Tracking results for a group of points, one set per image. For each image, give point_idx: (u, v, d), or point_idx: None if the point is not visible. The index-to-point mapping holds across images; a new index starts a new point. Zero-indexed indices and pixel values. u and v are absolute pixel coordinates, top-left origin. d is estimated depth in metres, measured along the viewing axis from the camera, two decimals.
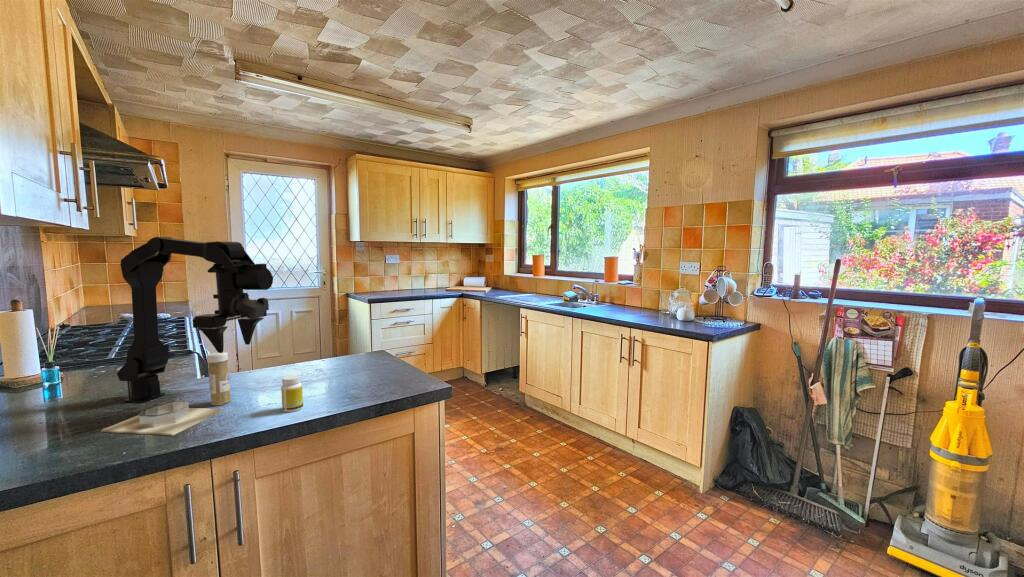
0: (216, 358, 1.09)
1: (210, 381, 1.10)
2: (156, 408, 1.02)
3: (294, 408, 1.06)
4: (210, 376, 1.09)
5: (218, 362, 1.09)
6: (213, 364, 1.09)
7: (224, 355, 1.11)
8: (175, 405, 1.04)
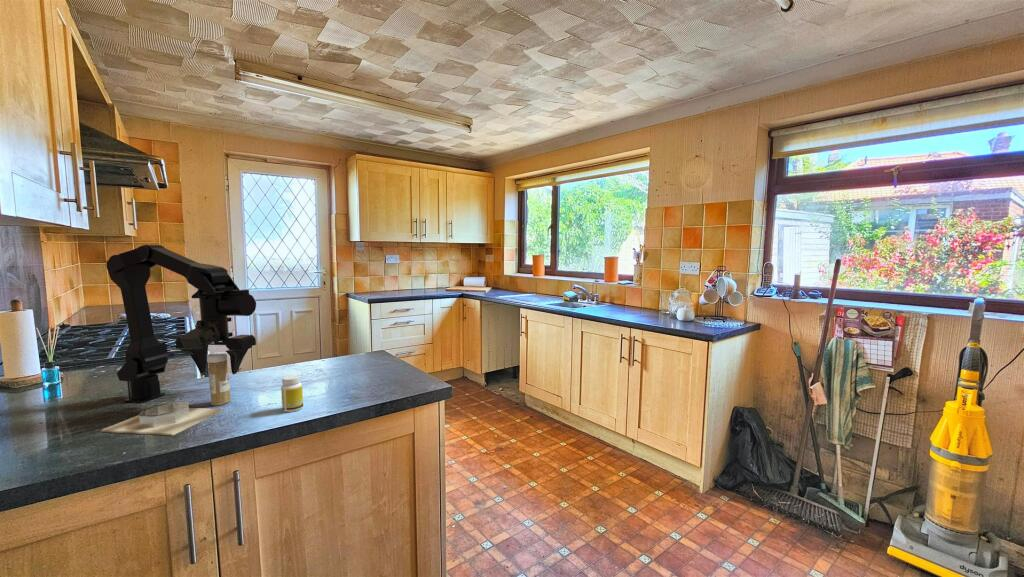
0: (216, 358, 1.09)
1: (210, 381, 1.10)
2: (156, 408, 1.02)
3: (294, 408, 1.06)
4: (210, 376, 1.09)
5: (218, 362, 1.09)
6: (213, 364, 1.09)
7: (224, 355, 1.11)
8: (175, 405, 1.04)
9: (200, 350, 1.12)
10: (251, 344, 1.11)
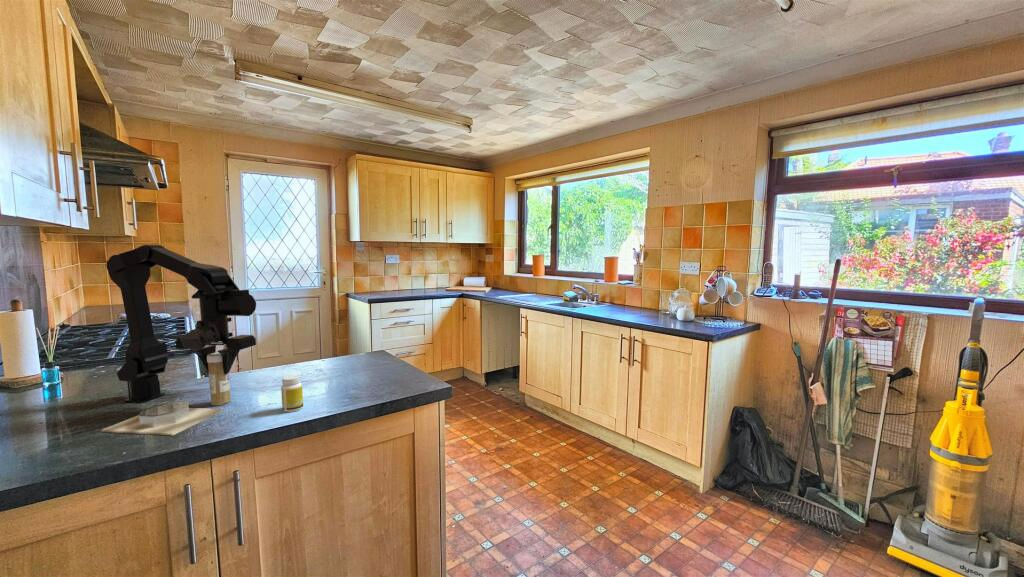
0: (216, 358, 1.09)
1: (210, 381, 1.10)
2: (156, 408, 1.02)
3: (294, 408, 1.06)
4: (210, 376, 1.09)
5: (218, 362, 1.09)
6: (213, 364, 1.09)
7: None
8: (175, 405, 1.04)
9: (208, 350, 1.11)
10: (251, 344, 1.11)
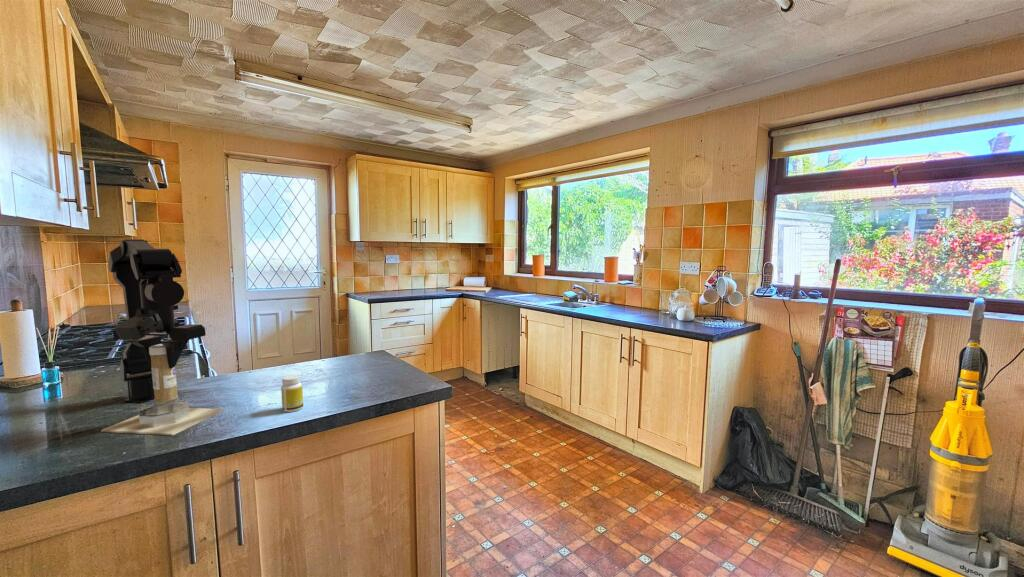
0: (159, 350, 0.98)
1: (153, 376, 0.98)
2: (156, 408, 1.02)
3: (294, 408, 1.06)
4: (153, 370, 0.98)
5: (162, 354, 0.98)
6: (155, 356, 0.98)
7: None
8: (175, 405, 1.04)
9: (151, 342, 1.00)
10: (199, 335, 0.99)
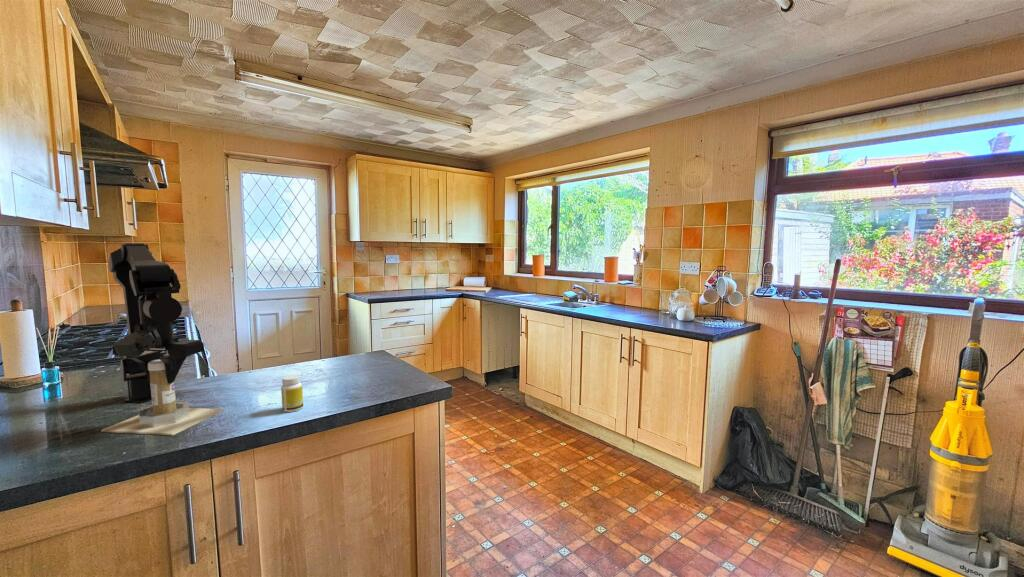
0: (158, 366, 0.98)
1: (151, 391, 0.98)
2: None
3: (294, 408, 1.06)
4: (151, 386, 0.98)
5: (160, 370, 0.98)
6: (154, 372, 0.98)
7: None
8: None
9: (150, 357, 1.00)
10: (198, 350, 0.99)
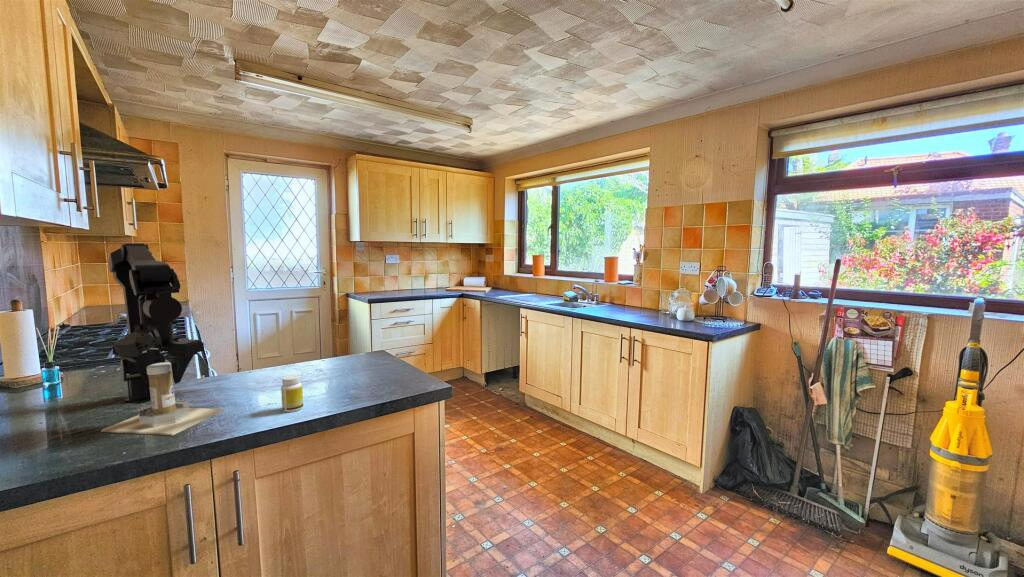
0: (157, 370, 0.98)
1: (151, 395, 0.98)
2: None
3: (294, 408, 1.06)
4: (151, 390, 0.98)
5: (159, 374, 0.98)
6: (153, 376, 0.97)
7: (167, 366, 0.99)
8: (175, 405, 1.04)
9: (144, 357, 1.00)
10: (198, 350, 0.99)
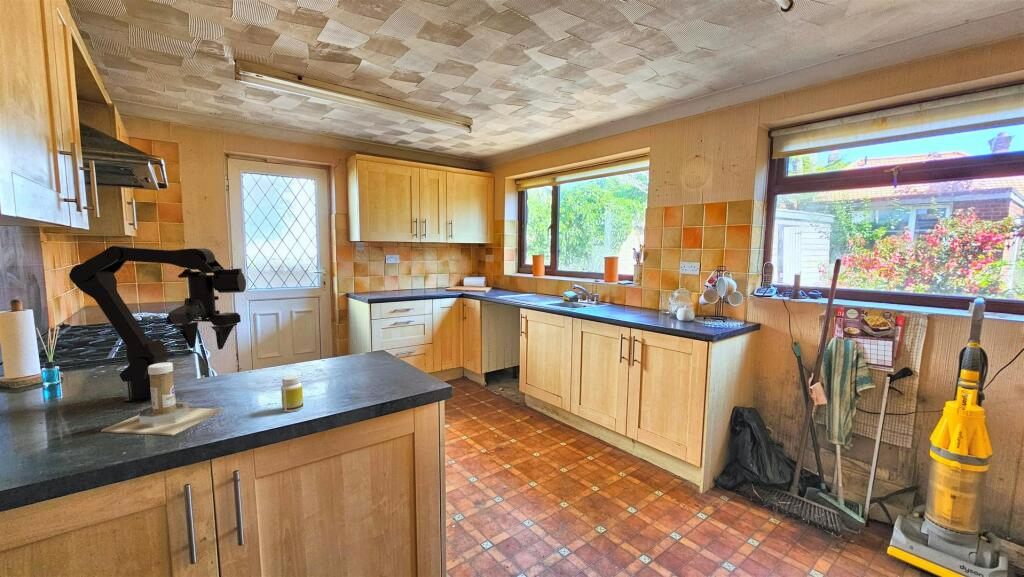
0: (158, 370, 0.98)
1: (152, 395, 0.98)
2: None
3: (294, 408, 1.06)
4: (152, 390, 0.98)
5: (160, 374, 0.98)
6: (154, 376, 0.98)
7: (168, 366, 0.99)
8: None
9: (190, 326, 1.19)
10: (235, 321, 1.17)
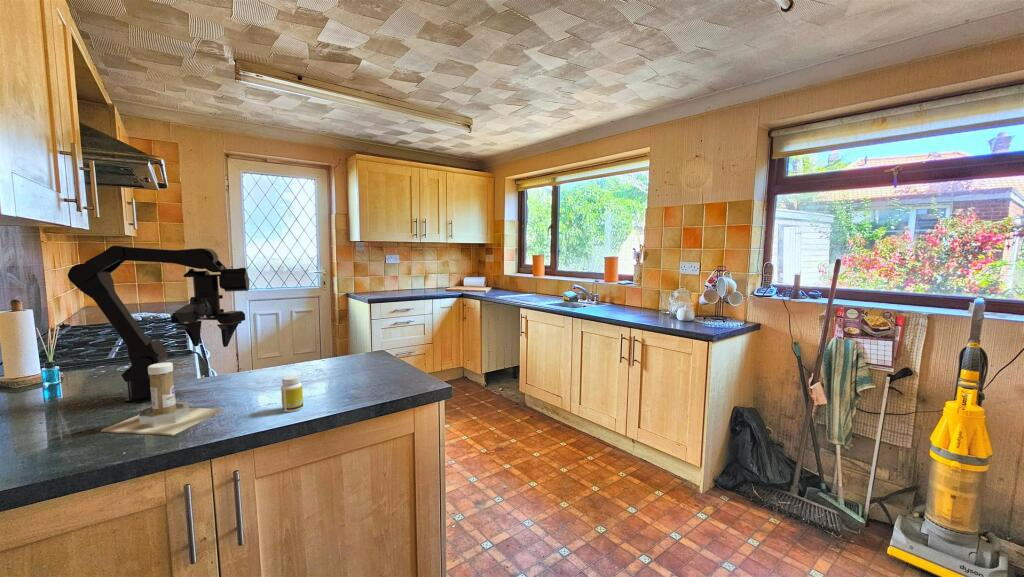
0: (158, 370, 0.98)
1: (152, 395, 0.98)
2: None
3: (294, 408, 1.06)
4: (152, 390, 0.98)
5: (160, 374, 0.98)
6: (154, 376, 0.98)
7: (168, 366, 0.99)
8: None
9: (194, 325, 1.21)
10: (241, 319, 1.20)
